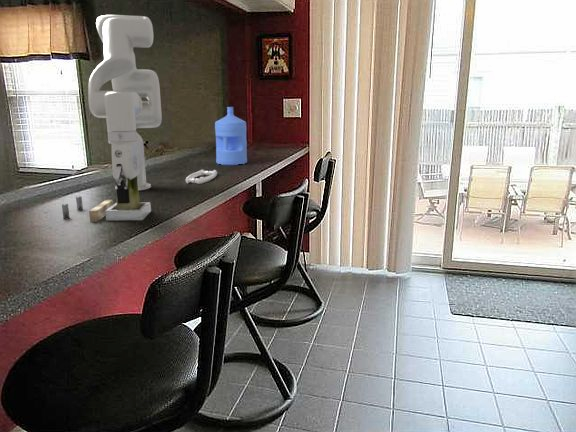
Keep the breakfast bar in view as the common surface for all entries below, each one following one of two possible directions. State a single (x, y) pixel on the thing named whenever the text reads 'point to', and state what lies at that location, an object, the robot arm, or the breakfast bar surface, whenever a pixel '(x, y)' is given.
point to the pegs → (66, 209)
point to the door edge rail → (99, 210)
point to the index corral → (128, 212)
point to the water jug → (231, 140)
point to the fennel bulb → (131, 197)
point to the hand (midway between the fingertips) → (127, 199)
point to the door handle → (202, 180)
